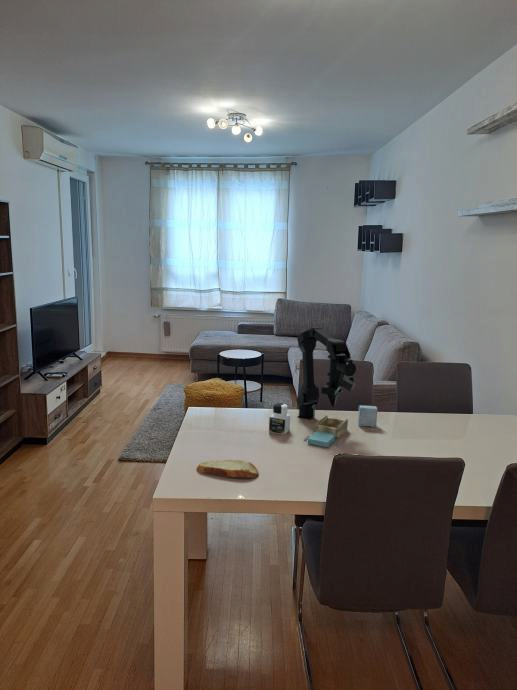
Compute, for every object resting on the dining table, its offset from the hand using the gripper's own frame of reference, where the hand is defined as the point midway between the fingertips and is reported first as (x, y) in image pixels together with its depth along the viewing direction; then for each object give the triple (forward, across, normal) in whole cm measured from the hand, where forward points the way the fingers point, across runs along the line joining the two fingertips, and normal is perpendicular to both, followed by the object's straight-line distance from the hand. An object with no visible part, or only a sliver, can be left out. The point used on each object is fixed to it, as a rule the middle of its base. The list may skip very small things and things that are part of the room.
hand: (333, 405), depth 224 cm
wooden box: (+12, -1, 0) cm, 12 cm away
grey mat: (+11, -14, -1) cm, 18 cm away
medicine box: (+12, +17, -11) cm, 23 cm away
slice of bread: (+12, -60, +17) cm, 63 cm away
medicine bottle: (+12, -12, +19) cm, 26 cm away
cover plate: (+11, -14, -1) cm, 18 cm away
